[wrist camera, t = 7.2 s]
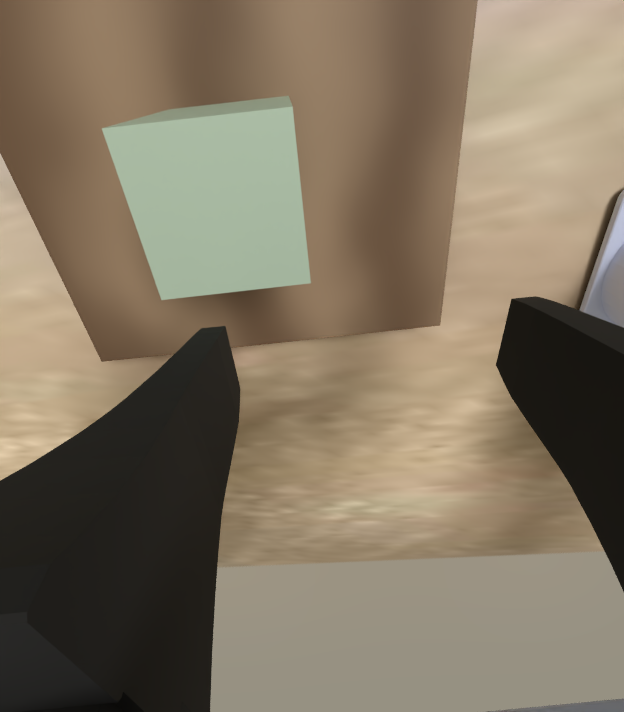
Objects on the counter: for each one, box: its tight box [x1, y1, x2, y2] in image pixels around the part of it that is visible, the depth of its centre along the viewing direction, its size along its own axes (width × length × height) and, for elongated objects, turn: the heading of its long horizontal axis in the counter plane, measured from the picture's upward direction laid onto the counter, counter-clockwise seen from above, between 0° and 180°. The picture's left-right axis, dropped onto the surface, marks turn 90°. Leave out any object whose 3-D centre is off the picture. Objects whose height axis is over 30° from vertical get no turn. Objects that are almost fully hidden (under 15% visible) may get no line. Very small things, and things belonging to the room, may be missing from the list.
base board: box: [0, 0, 477, 361], centre depth 15 cm, size 16×16×2 cm
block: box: [102, 96, 311, 300], centre depth 12 cm, size 4×4×6 cm
